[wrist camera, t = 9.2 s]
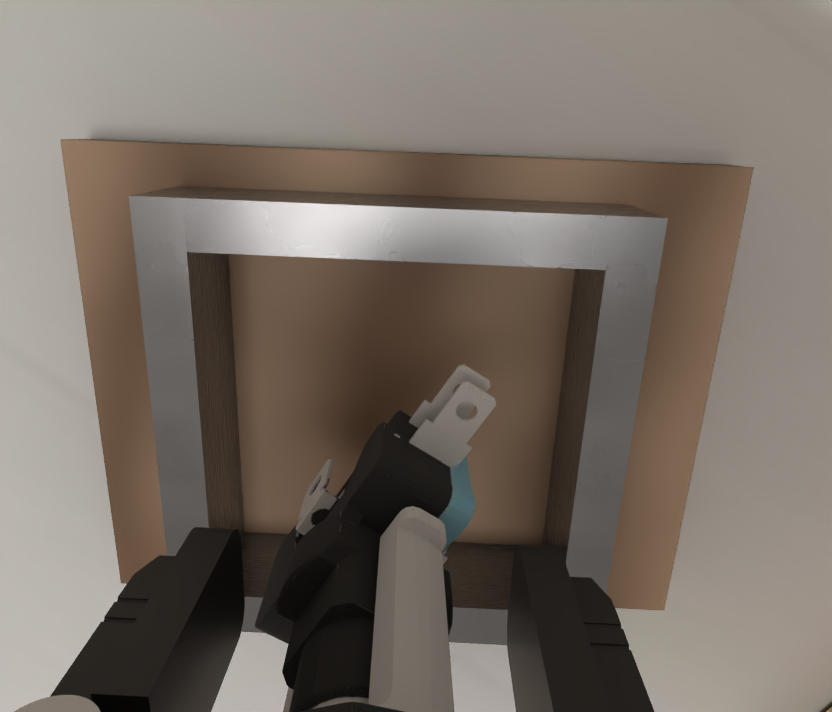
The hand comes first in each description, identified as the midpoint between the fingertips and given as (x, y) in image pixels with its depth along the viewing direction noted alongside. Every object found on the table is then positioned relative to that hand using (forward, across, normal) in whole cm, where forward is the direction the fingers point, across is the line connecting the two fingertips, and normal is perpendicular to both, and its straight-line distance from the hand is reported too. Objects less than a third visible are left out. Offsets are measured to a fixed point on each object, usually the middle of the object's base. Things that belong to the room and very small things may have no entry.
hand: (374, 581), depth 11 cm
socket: (+8, 0, 0) cm, 8 cm away
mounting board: (+10, 0, 0) cm, 10 cm away
